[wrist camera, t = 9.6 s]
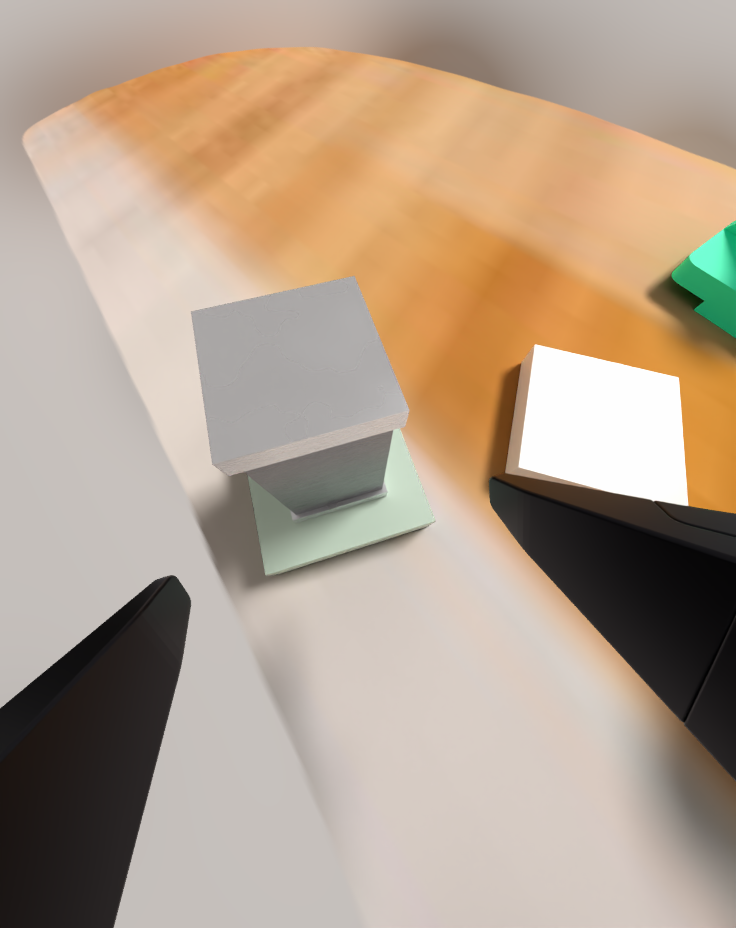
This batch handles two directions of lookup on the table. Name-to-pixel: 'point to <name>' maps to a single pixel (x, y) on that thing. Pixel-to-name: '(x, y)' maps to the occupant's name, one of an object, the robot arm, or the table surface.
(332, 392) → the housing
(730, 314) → the camera mount
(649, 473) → the stand
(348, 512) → the stand
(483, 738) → the table surface
